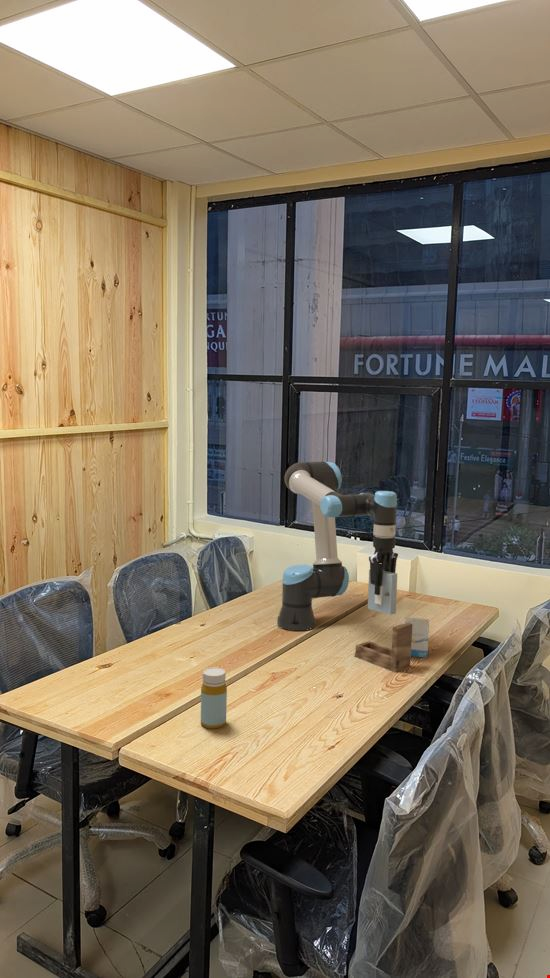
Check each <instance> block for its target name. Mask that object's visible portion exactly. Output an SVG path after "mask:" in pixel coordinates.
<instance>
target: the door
mask: <svg viewBox="0 0 550 978" xmlns="http://www.w3.org/2000/svg"><path fill="white" fill-rule="evenodd" d="M381 586H383V597H382V605H380V604H376V603H375V585H373V584H371V583H370V569H369V570H368V590H367V591H368V593H367V594H368V595H367V609H368V610H371V611H374V612H379V613H382V614H386V615H389V616H392V615H395V614H396V613H397V593H398V573H396V572H395V573H392V572H388V571H384V570H383V576H382V583H381Z"/></svg>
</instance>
